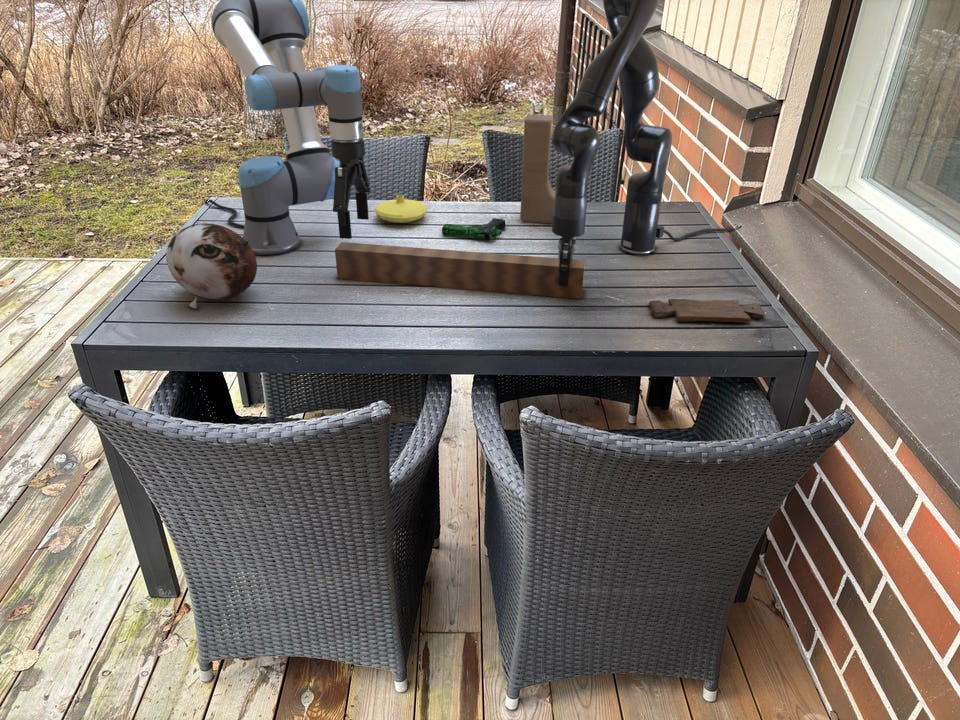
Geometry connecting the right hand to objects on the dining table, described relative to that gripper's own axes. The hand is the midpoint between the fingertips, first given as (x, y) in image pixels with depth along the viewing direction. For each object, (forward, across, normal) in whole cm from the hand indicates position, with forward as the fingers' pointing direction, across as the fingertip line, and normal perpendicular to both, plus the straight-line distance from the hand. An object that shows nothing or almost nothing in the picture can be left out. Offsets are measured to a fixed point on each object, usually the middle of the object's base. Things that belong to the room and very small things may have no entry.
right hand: (564, 280), depth 172 cm
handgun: (+3, +36, +27) cm, 46 cm away
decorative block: (+3, +51, +9) cm, 52 cm away
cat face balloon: (+3, -18, +80) cm, 82 cm away
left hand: (-10, 0, +52) cm, 52 cm away
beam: (+3, 0, +26) cm, 26 cm away
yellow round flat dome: (+3, +42, +52) cm, 67 cm away
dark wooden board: (+3, -5, -33) cm, 34 cm away
